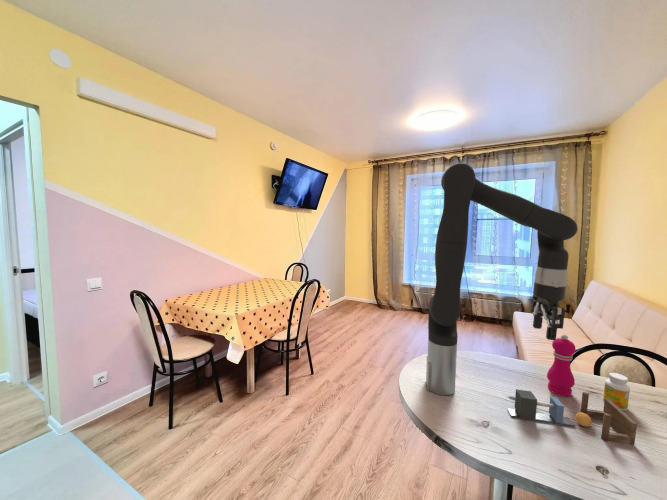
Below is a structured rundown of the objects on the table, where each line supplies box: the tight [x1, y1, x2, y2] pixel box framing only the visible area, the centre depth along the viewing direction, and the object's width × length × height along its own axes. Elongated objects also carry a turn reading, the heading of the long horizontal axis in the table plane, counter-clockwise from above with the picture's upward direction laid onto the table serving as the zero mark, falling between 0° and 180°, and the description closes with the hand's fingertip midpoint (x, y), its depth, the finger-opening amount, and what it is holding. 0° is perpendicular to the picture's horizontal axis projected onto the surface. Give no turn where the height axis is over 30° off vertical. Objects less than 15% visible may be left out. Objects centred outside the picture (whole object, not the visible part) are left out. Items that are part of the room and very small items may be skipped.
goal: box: [579, 391, 638, 446], centre depth 75 cm, size 7×10×7 cm, turn 165°
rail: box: [507, 408, 577, 428], centre depth 80 cm, size 16×3×1 cm, turn 75°
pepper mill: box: [546, 334, 577, 397], centre depth 91 cm, size 7×7×20 cm
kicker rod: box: [514, 389, 565, 423], centre depth 80 cm, size 11×4×6 cm, turn 75°
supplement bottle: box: [602, 372, 631, 411], centre depth 85 cm, size 5×5×10 cm
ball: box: [574, 411, 593, 428], centre depth 77 cm, size 4×4×4 cm
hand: (543, 333), depth 84 cm, fingers open, 8 cm apart
